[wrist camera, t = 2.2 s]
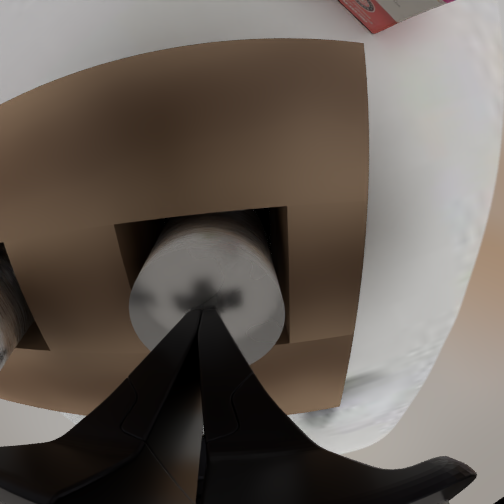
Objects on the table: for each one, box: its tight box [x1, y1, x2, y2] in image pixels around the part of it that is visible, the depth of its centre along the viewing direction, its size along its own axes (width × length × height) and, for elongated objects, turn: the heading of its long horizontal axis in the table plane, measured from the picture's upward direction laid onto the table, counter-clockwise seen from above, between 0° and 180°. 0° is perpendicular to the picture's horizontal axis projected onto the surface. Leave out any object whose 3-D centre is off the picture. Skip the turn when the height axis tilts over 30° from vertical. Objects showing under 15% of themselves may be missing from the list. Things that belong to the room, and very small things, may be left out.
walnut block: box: [0, 38, 369, 416], centre depth 13 cm, size 16×22×6 cm
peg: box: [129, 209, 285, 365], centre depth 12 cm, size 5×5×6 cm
